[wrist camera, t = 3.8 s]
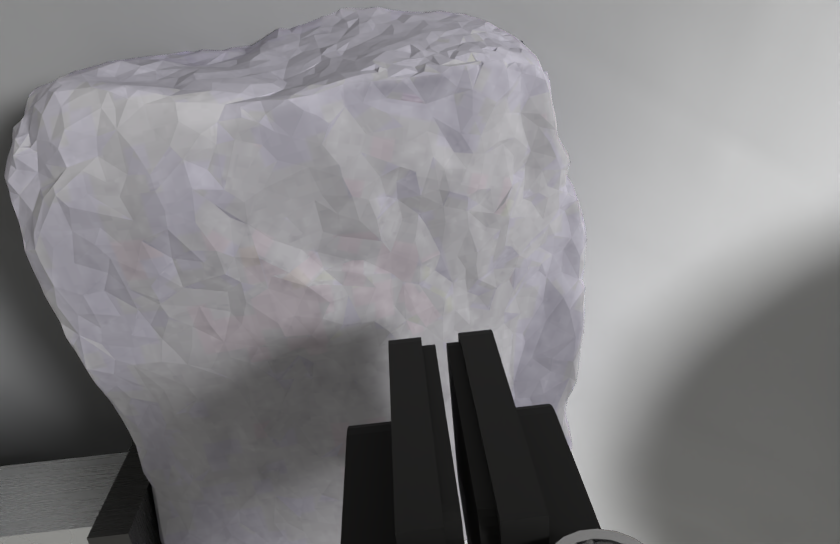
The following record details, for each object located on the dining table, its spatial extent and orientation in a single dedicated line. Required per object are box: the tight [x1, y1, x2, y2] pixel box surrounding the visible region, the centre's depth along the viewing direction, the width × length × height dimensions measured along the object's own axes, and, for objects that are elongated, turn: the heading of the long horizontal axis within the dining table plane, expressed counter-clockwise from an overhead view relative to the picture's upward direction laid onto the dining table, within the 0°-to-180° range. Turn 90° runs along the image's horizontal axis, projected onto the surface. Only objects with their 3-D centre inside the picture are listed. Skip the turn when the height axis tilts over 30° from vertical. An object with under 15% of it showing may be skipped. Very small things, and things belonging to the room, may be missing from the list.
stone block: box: [4, 7, 587, 544], centre depth 14 cm, size 12×5×10 cm
